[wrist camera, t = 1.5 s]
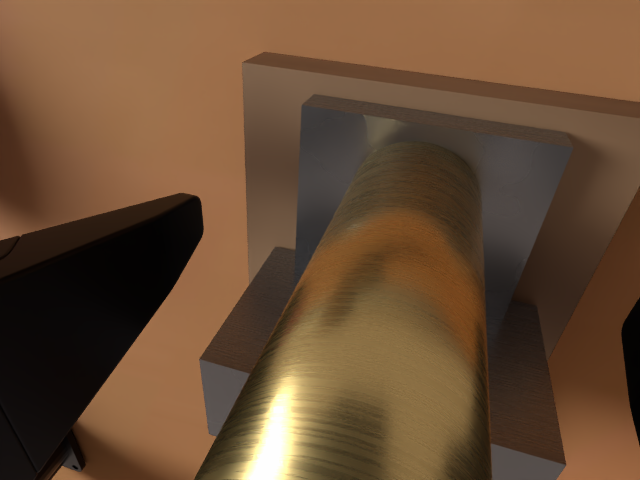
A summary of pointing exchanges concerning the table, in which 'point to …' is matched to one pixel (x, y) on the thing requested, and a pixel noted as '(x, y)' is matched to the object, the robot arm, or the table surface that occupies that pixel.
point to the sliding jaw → (394, 309)
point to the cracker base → (467, 101)
